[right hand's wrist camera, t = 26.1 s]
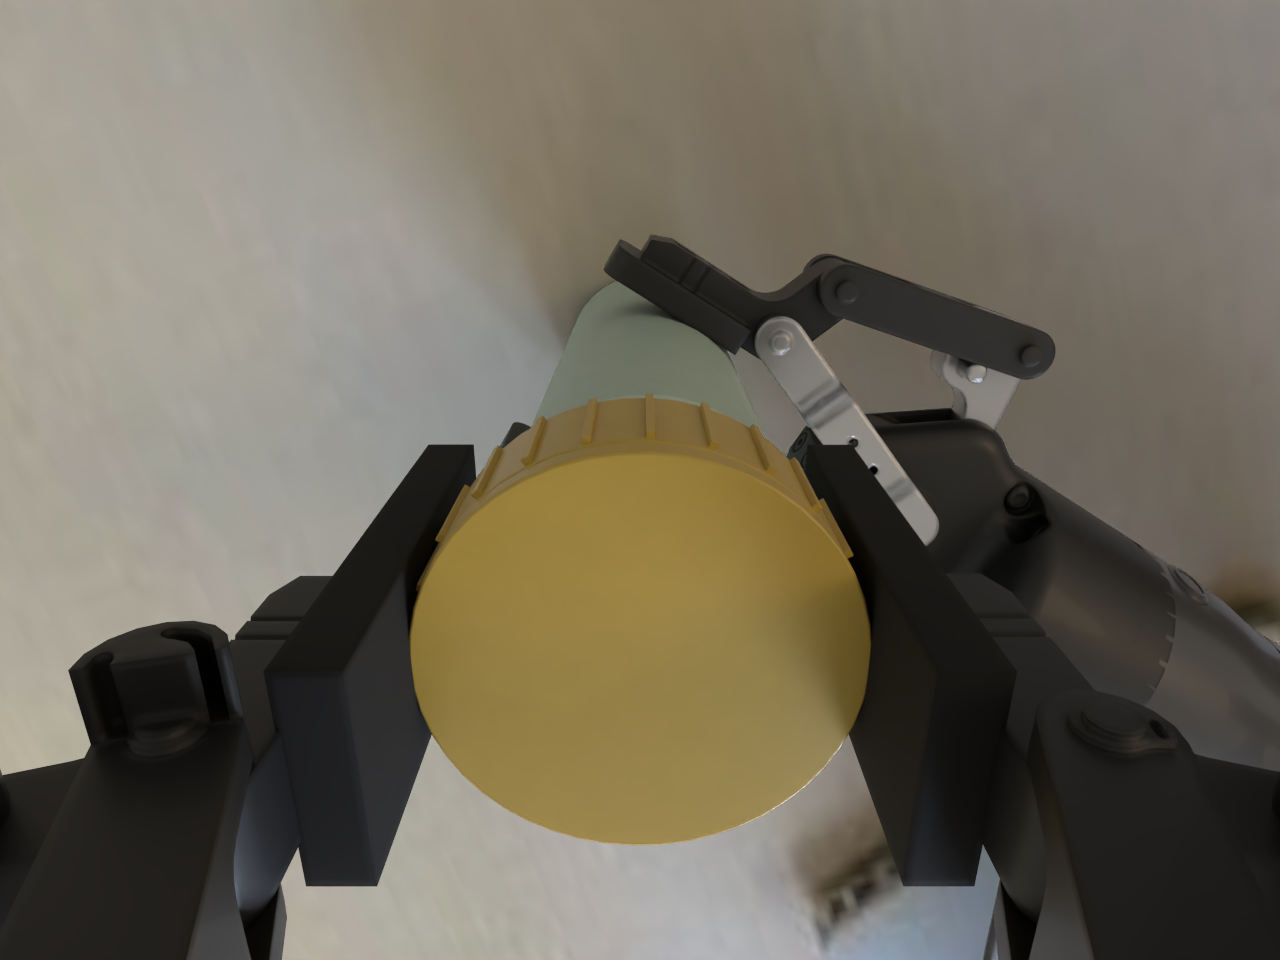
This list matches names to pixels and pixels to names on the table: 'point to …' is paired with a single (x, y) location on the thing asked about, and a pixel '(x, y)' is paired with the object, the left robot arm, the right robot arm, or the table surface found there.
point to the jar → (642, 360)
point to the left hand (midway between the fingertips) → (558, 352)
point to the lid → (640, 625)
